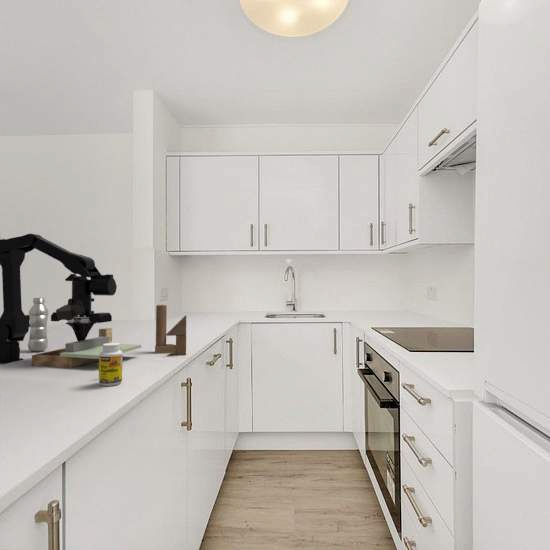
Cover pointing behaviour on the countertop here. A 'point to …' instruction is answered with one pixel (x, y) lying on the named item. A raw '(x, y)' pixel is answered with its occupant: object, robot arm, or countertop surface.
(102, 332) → the pin
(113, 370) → the supplement bottle
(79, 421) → the countertop surface
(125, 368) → the countertop surface
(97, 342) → the lid
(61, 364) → the brown wooden slab
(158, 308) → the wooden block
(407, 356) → the countertop surface
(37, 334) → the plastic bottle
